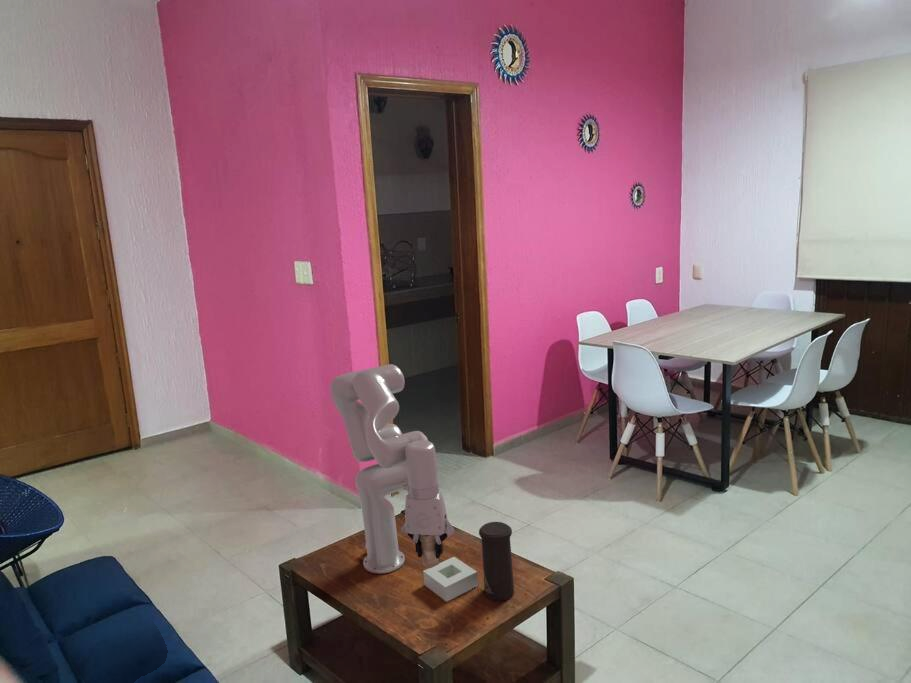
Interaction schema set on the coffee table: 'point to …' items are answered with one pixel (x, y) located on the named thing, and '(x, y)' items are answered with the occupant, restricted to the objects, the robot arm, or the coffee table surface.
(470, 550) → the coffee table surface
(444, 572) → the grey square socket block
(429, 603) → the coffee table surface
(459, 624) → the coffee table surface
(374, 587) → the coffee table surface
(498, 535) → the container
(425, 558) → the birch stick
